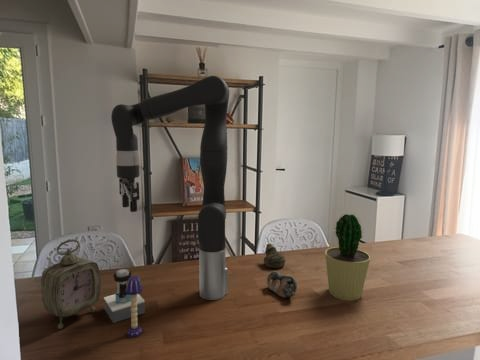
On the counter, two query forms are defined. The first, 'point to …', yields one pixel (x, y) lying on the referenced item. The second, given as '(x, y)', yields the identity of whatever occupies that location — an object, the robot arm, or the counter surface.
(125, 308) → the plinth
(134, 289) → the toy lamp
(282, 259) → the seashell
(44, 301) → the tabletop clock
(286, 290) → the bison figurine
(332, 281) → the potted cactus
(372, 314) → the counter surface
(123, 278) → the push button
